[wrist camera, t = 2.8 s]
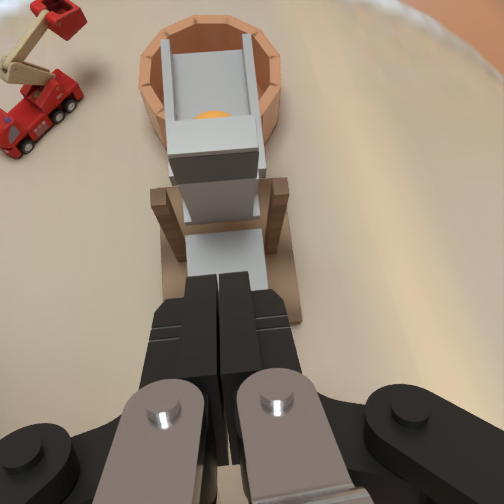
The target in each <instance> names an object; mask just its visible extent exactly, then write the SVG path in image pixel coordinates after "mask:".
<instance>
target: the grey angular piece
mask: <svg viewBox="0 0 504 504" xmlns="http://www.w3.org/2000/svg"><path fill="white" fill-rule="evenodd" d="M160 43H161V59H162V75H163V91H164V107H165V123H166V139H167V155H168V171H169V178H170V181H171V183H172V186H176V185H178V188H179V191H180V193H181V196H182V199H183V212H184V223H185V225H186V226H188V225H200V224H211V223H222V222H233V221H245V220H256V219H260V209H259V200H258V185H259V178H265V175H266V161H265V152H264V144H263V135H262V126H261V118H260V109H259V100H258V92H257V83H256V74H255V66H254V57H253V48H252V40H251V33H249V34H242V50H228V51H214V52H200V53H186V54H172V50H171V45H170V41H169V39H163V40H160ZM214 110H215V111H222V112H225V113H228V114H230V115H231V116H230V117H218V118H205V119H194V118H195V117H196V116H198V115H199V114H201V113H203V112H207V111H214ZM185 241H186V255H187V269H188V277H189V276H199V275H209V274H216V275H217V281H218V289H219V274H221V273H231V272H242V271H248V273H249V280H250V288H251V291H255V290H265V289H268V282H267V273H266V264H265V255H264V246H263V236H262V229H252V230H241V231H230V232H218V233H207V234H196V235H185Z"/></svg>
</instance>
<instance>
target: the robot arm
mask: <svg viewBox="0 0 504 504" xmlns="http://www.w3.org/2000/svg"><path fill="white" fill-rule="evenodd" d="M228 436H229V443H230V451H231V459H232V465H237V464H240V467H241V476H242V484H243V490H244V493H245V496H246V497H247V499H248V504H504V431H503V430H501V429H499V428H497V427H495V426H493V425H492V424H490V423H488V422H486V421H484V420H482V419H480V418H479V417H477V416H475V415H473V414H471V413H469V412H467V411H466V410H464V409H462V408H460V407H458V406H456V405H454V404H453V403H451V402H449V401H447V400H445V399H443V398H441V397H440V396H438V395H436V394H434V393H432V392H430V391H428V390H426V389H423V388H420V387H417V386H413V385H407V384H393V385H388V386H384V387H382V388H379V389H377V390H376V391H375V392H373V393H372V394H371V395H370V396H369V398H368V400H367V402H366V405H362V404H356V403H349V402H343V401H338V400H334V399H331V398H328V397H326V396H324V395H321V394H320V393H318V392H317V391H316V389H315V387H314V385H313V383H312V382H311V381H310V380H309V379H308V378H307V377H306V376H304V375H303V374H302V371H301V367H300V363H299V359H298V356H297V352H296V348H295V344H294V340H293V336H292V332H291V328H290V324H289V320H288V316H287V312H286V308H285V304H284V300H283V299H282V298H281V297H280V296H279V295H278V294H277V293H276V292H275V291H274V290H272V289H265V290H255V291H251V288H250V280H249V273H248V271H242V272H231V273H221V274H219V289H218V281H217V275H216V274H209V275H199V276H189V277H186V283H185V292H184V297H182V298H172V299H166V300H165V301H164V302H163V303H162V304H161V306H160V307H159V308H158V309H157V310H156V311H155V313H154V318H153V323H152V330H151V333H150V337H149V342H148V347H147V352H146V357H145V362H144V367H143V371H142V376H141V381H140V386H139V390H138V391H137V392H136V393H135V394H133V396H132V397H131V398H130V399H129V400H128V402H127V403H126V405H125V407H124V409H123V412H122V414H121V415H120V416H119V417H117V418H116V419H114V420H113V421H111V422H109V423H107V424H105V425H103V426H101V427H98V428H95V429H93V430H90V431H87V432H85V433H82V434H79V435H76V436H74V437H71V438H70V436H69V434H68V432H67V431H66V430H65V429H64V428H62V427H60V426H58V425H55V424H49V423H41V424H34V425H30V426H26V427H23V428H21V429H18V430H16V431H14V432H12V433H10V434H8V435H7V436H5V437H4V438H2V439H1V440H0V504H220V499H219V493H218V486H217V466H226V465H229V453H228Z"/></svg>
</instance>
